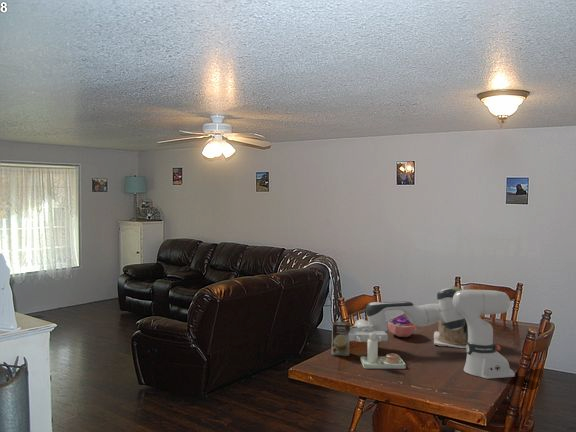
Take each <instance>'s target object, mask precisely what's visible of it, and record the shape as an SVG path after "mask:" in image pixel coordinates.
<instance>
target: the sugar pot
mask: <svg viewBox="0 0 576 432" xmlns="http://www.w3.org/2000/svg"><path fill="white" fill-rule="evenodd" d="M385 357H386V362H387V363H390V364H398V363H399V357H400V355H399V354H396V353H387V354H386V355H385Z"/></svg>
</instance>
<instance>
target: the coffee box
mask: <svg viewBox="0 0 576 432" xmlns="http://www.w3.org/2000/svg"><path fill="white" fill-rule="evenodd" d="M331 327H332V328H331V351H330V352H331V356H343V357H344V356H345V357H346V356H350V341H349V340H348V332H350V327H351V324H350V323H349V322H345V321H343V322H341V321H340V322H339V321H332V325H331Z"/></svg>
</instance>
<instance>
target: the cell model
mask: <svg viewBox="0 0 576 432" xmlns="http://www.w3.org/2000/svg"><path fill="white" fill-rule="evenodd" d="M387 325H388V331H389V332H390V333H392V334H393V335H395V336H397V337H399V338H408V337H410V336H411V335H413V333H415V332H416V331H417V327H418V326H415V325H414V324H412V323H411V322H410V320H409V319H408V318H407V317H405V316H404V315H399V316H397V318H390V319H388V320H387Z"/></svg>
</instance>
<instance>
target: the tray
mask: <svg viewBox="0 0 576 432" xmlns="http://www.w3.org/2000/svg"><path fill="white" fill-rule="evenodd" d="M359 358H360V362H361V365H362V366H363V368H364V369H394V370H395V369H406V368H407V367H406V366H407V364H406V363H405V362H404V360H403V359H402V358H401V356H399V363H398V364H390V363H387V362H386V356H378V362H377V363H374V364H373V363H368V362H367V356H363V355H362V356H360V357H359Z"/></svg>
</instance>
